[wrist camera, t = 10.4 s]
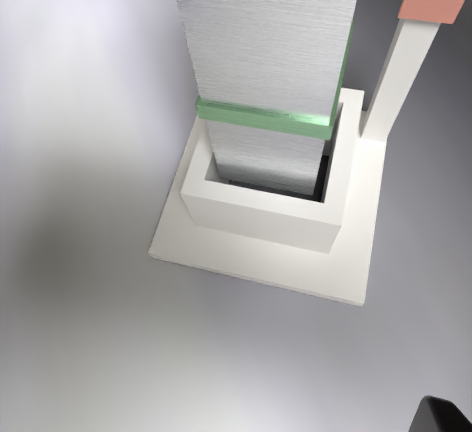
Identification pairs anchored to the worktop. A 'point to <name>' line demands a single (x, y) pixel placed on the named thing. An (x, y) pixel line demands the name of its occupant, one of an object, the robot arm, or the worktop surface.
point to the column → (268, 83)
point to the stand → (294, 209)
